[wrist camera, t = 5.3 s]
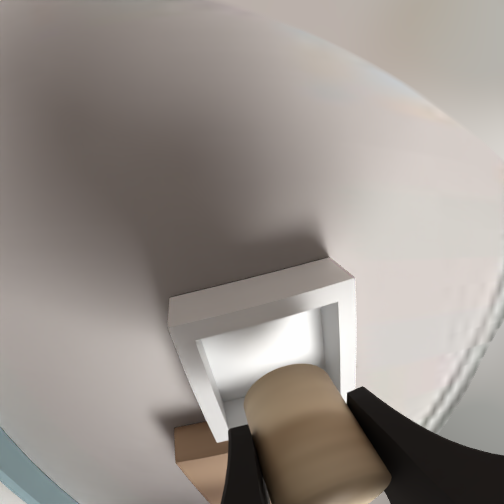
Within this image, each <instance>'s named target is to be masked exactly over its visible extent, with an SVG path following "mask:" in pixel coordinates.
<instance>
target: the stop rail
mask: <svg viewBox="0 0 504 504" xmlns="http://www.w3.org/2000/svg"><path fill="white" fill-rule="evenodd" d="M0 481H1V482H2V483H3V484H4V485H5V486H6V487H8V488H9V489H10V490H11V491H12V492H13V493H15V494H16V495H17V496H18V497H19V498H21V499H22V500H23V501H24V502H26V503H27V504H79V503H77V502H76V501H75V500H74V499H72V498H71V497H70V496H69V495H68V494H66V493H65V492H64V491H63V490H62V489H61V488H59V487H58V486H57V485H56V484H55V483H54V482H53V481H51V480H50V479H49V478H48V477H47V476H46V475H45V474H44V473H43V472H42V471H41V470H40V469H39V468H38V467H37V466H36V465H35V464H34V463H33V462H32V461H31V460H30V459H29V458H28V457H27V456H26V455H25V454H24V453H23V452H22V451H21V450H20V449H19V448H18V447H17V446H16V445H15V443H14V442H13V441H12V440H11V439H10V438H9V437H8V436H7V434H6V433H5V432H4V431H3V430H2V428H1V427H0Z"/></svg>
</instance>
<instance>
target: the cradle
mask: <svg viewBox="0 0 504 504" xmlns="http://www.w3.org/2000/svg"><path fill="white" fill-rule="evenodd" d="M167 328H168V330H169V333H170V336H171V338H172V341H173V344H174V346H175V349H176V351H177V354H178V356H179V359H180V361H181V364H182V366H183V369H184V371H185V373H186V376H187V378H188V381H189V383H190V385H191V388H192V390H193V392H194V395H195V397H196V399H197V401H198V404H199V406H200V408H201V410H202V412H203V415H204V417H205V419H206V421H207V423H208V425H209V427H210V429H211V432H212V434H213V436H214V438H215V440H216V442H217V443H218V442H223V441H227V440H228V430H229V429H230V428H234V427H238V426H242V425H246V424H248V422H247V418H246V414H245V410H244V399H245V396H246V394H247V392H248V390H249V389H250V387H251V386H252V385H253V384H254V383H255V382H256V381H257V380H258V379H260V378H261V377H262V376H264V375H265V374H267V373H269V372H271V371H273V370H275V369H277V368H280V367H283V366H287V365H292V364H311V365H315V366H318V367H320V368H322V369H323V370H324V371H325V372H326V373H327V374H328V375H329V377H330V378H331V380H332V382H333V383H334V385H335V386H336V388H337V390H338V391H339V393H340V394H341V396H342V398H343V399H344V401H345V402H346V404H347V392H350V391H352V390H355V381H356V283H355V277H354V276H353V275H351V274H350V273H349V272H348V271H346V270H345V269H344V268H343V267H341V266H340V265H339V264H338V263H336V262H335V261H334V260H333V259H331V258H330V257H329V258H325V259H321V260H317V261H314V262H310V263H306V264H302V265H299V266H295V267H291V268H287V269H283V270H279V271H275V272H272V273H268V274H264V275H260V276H256V277H252V278H248V279H244V280H240V281H236V282H232V283H228V284H224V285H220V286H216V287H212V288H208V289H204V290H199V291H195V292H191V293H187V294H183V295H179V296H174V297H170V299H169V312H168V327H167Z"/></svg>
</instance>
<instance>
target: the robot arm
mask: <svg viewBox="0 0 504 504" xmlns="http://www.w3.org/2000/svg"><path fill="white" fill-rule="evenodd" d="M347 406H348V407H349V409H350V410H351V412H352V414H353V415H354V417H355V418H356V420H357V421H358V423H359V425H360V426H361V428H362V429H363V431H364V433H365V434H366V436H367V437H368V439H369V441H370V442H371V444H372V445H373V447H374V449H375V450H376V452H377V453H378V455H379V456H380V458H381V460H382V461H383V463H384V464H385V466H386V468H387V469H388V471H389V472H390V474H391V476H392V478H391V482H390V484H389V485H388V487H387V488H386V489H385V490H384V492H385V493H386V495H387V497H388V499H389V501H390V503H391V504H504V456H503V455H498V454H491V453H488V452H484V451H480V450H477V449H473V448H469V447H466V446H463V445H461V444H458V443H455V442H453V441H450V440H448V439H446V438H443V437H441V436H439V435H437V434H435V433H433V432H431V431H429V430H427V429H425V428H424V427H422V426H420V425H418V424H416V423H415V422H413V421H411V420H410V419H408V418H407V417H405V416H404V415H402V414H400V413H399V412H397V411H396V410H394V409H393V408H392V407H390V406H389V405H387V404H386V403H384V402H383V401H382V400H380V399H379V398H378V397H376V396H375V395H374V394H372V393H371V392H370V391H369V390H367V389H366V388H365V387H360V388H357V389H355V390H352V391H350V392H347ZM221 504H271V502H270V498H269V494H268V491H267V488H266V484H265V481H264V478H263V474H262V471H261V468H260V463H259V459H258V455H257V452H256V448H255V445H254V441H253V438H252V434H251V431H250V428H249V425H248V424H246V425H242V426H238V427H234V428H230V429H229V430H228V461H227V470H226V477H225V484H224V490H223V495H222V499H221Z"/></svg>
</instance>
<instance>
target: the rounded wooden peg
mask: <svg viewBox="0 0 504 504" xmlns="http://www.w3.org/2000/svg"><path fill="white" fill-rule="evenodd" d="M244 410H245V414H246V418H247V422H248V425H249V428H250V431H251V434H252V438H253V441H254V445H255V448H256V452H257V455H258V459H259V463H260V468H261V471H262V474H263V478H264V481H265V484H266V488H267V491H268V494H269V498H270V501H271V504H368V503H370V502H371V501H372V500H374V499H375V498H376V497H377V496H379V495H380V494H381V493H382V492H383V491H384V490H385V489H386V488H387V487H388V485H389V484H390V482H391V478H392V476H391V474H390V472H389V471H388V469H387V468H386V466H385V464H384V463H383V461H382V460H381V458H380V456H379V455H378V453H377V452H376V450H375V449H374V447H373V445H372V444H371V442H370V441H369V439H368V437H367V436H366V434H365V433H364V431H363V429H362V428H361V426H360V425H359V423H358V421H357V420H356V418H355V417H354V415H353V414H352V412H351V410H350V409H349V407H348V406H347V404H346V402H345V401H344V399H343V398H342V396H341V394H340V393H339V391H338V390H337V388H336V386H335V385H334V383H333V382H332V380H331V378H330V377H329V375H328V374H327V373H326V372H325V371H324V370H323V369H322V368H320V367H318V366H315V365H311V364H292V365H287V366H283V367H280V368H277V369H275V370H273V371H271V372H269V373H267V374H265V375H264V376H262V377H261V378H260V379H258V380H257V381H256V382H255V383H254V384H253V385H252V386H251V387H250V389H249V390H248V392H247V394H246V396H245V399H244Z"/></svg>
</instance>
